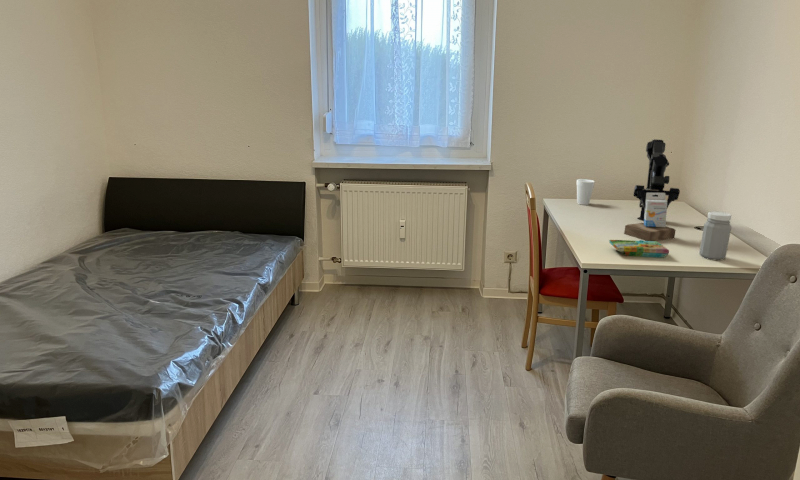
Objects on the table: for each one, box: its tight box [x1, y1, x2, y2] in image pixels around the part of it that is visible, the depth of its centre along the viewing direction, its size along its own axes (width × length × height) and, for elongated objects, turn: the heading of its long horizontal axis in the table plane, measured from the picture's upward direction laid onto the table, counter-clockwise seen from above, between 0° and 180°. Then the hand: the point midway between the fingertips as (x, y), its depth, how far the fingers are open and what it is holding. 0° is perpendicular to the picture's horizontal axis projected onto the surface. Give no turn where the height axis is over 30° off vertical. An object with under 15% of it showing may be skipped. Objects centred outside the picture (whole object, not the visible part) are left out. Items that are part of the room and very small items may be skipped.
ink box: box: [643, 193, 668, 227], centre depth 271 cm, size 8×5×15 cm, turn 78°
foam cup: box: [575, 178, 596, 206], centre depth 335 cm, size 10×9×13 cm
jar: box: [699, 211, 732, 261], centre depth 243 cm, size 10×10×18 cm
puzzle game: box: [608, 239, 670, 258], centre depth 247 cm, size 12×5×20 cm
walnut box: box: [623, 222, 677, 242], centre depth 274 cm, size 16×14×5 cm
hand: (655, 207), depth 271 cm, fingers open, 9 cm apart
